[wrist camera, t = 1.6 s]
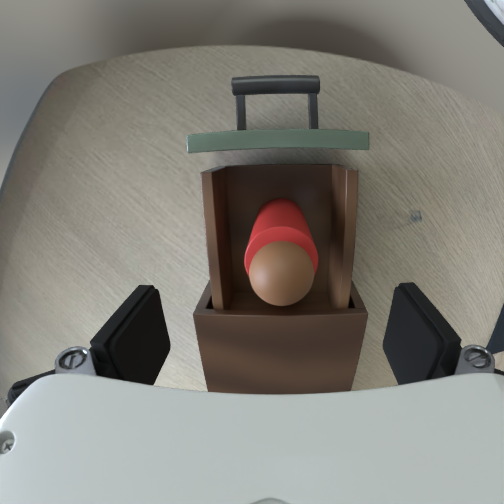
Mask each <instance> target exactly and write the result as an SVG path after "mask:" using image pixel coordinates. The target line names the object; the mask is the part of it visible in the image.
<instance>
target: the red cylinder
mask: <svg viewBox="0 0 504 504" xmlns="http://www.w3.org/2000/svg"><path fill="white" fill-rule="evenodd" d="M317 266H318V254H317V250H316V247H315V244H314V241H313V239H312V236H311V233H310V230H309V228H308V225H307V222H306V220H305V217H304V214H303V212H302V210H301V208H300V207H299V206H298V205H297V204H296V203H294V202H293V201H291V200H289V199H285V198H276V199H272V200H269V201H267V202H266V203H265V204H264V205H262V207H261V208H260V209H259V211H258V213H257V216H256V219H255V223H254V226H253V229H252V233H251V236H250V239H249V243H248V246H247V249H246V253H245V268H246V271H247V274H248V276H249V277H250V282H251V285H252V288H253V289H254V291H255V293H256V294H257V295H258V296H259V297H260V298H261V299H263V300H264V301H266V302H267V303H270V304H273V305H277V306H286V305H290V304H293V303H296V302H298V301H299V300H301V299H302V298H303V297H304V296H305V295H306V294H307V293H308V291H309V290H310V288H311V286H312V283H313V279H314V275H315V273H316V270H317Z"/></svg>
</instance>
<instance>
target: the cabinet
mask: <svg viewBox="0 0 504 504" xmlns="http://www.w3.org/2000/svg"><path fill="white" fill-rule="evenodd" d="M193 318H194V324H195V329H196V335H197V340H198V346H199V351H200V356H201V361H202V366H203V371H204V375H205V380H206V385H207V389H208V392H217V393H233V394H265V395H285V394H317V393H333V392H346V391H351V388H352V384H353V380H354V376H355V373H356V369H357V364H358V360H359V356H360V352H361V347H362V343H363V338H364V333H365V328H366V323H367V318H368V312H367V309H366V307H365V305H364V303H363V301H362V299H361V297H360V295H359V293H358V291H357V289H356V287H355V285H354V283H353V281H352V280H351V289H350V297H349V305H348V309H322V310H219V309H213V300H212V292H211V284H210V280H209V282H208V284H207V286H206V288H205V290H204V292H203V294H202V296H201V298H200V300H199V302H198V304H197V306H196V309H195V311H194V313H193Z"/></svg>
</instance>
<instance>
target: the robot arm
mask: <svg viewBox="0 0 504 504" xmlns="http://www.w3.org/2000/svg"><path fill="white" fill-rule="evenodd" d="M484 1H485V3H486V4H487V5H488V7H489V8H490V10H491V11H492V12H493V13H494V15H495V16H496V17H497V18H498V19H499V20H500V22H501V23H502V24H503V25H504V0H484ZM460 343H461V338H460V337H459V336H458V335H457V333H456V332H455V331H454V329H453V328H452V327H451V326H450V324H449V323H448V322H447V321H446V319H445V318H444V317H443V316H442V315H441V313H440V312H439V311H438V310H437V309H436V307H435V306H434V305H433V304H432V303H431V301H430V300H429V299H428V298H427V297H426V296H425V295H424V293H423V292H422V291H421V290H420V289H419V288H418V287H417V285H416V284H415V283H414V282H410V283H400V284H399V286H398V287H395V290H394V294H393V300H392V305H391V309H390V314H389V319H388V323H387V327H386V332H385V336H384V340H383V350H384V352H385V355H386V357H387V359H388V361H389V364H390V366H391V368H392V371H393V373H394V375H395V378H396V380H397V383H398V385H396V386H389V387H382V388H374V389H366V390H356V391H346V392H333V393H317V394H285V395H265V394H233V393H217V392H205V391H194V390H184V389H176V388H168V387H160V386H153V385H154V383H155V381H156V379H157V376H158V374H159V372H160V370H161V368H162V366H163V364H164V362H165V360H166V358H167V356H168V354H169V351H170V346H171V345H170V339H169V335H168V331H167V327H166V322H165V318H164V313H163V309H162V304H161V299H160V294H159V291H158V289H155V288H154V286H153V285H139V286H138V287H137V288H136V289H135V290H134V291H133V292H132V294H131V295H130V296H129V297H128V298H127V299H126V300H125V301H124V303H123V304H122V305H121V306H120V307H119V308H118V309H117V310H116V312H115V313H114V314H113V315H112V316H111V317H110V318H109V320H108V321H107V322H106V323H105V324H104V325H103V327H102V328H101V329H100V330H99V331H98V333H97V334H96V335H95V336H94V337H93V338H92V340H91V341H90V344H91V346H92V347H91V348H90V349H89V350H88V349H87V348H85V347H79V346H76V347H71V348H68V349H66V350H64V351H63V352H61V353H60V354H59V355H58V356H57V358H56V360H55V369H54V370H51V371H48V372H45V373H42V374H39V375H36V376H33V377H30V378H27V379H24V380H21V381H18V382H16V383H14V384H13V386H12V387H11V388H10V390H9V392H8V396H7V398H8V399H7V400H5V398H4V397H3V398H1V399H0V504H504V372H503V371H501V370H498V369H495V368H494V367H495V359H494V357H493V355H492V353H491V352H490V351H489V350H487V349H486V348H484V347H482V346H479V345H468V346H465V347H464V348H462V347H461V346H460Z"/></svg>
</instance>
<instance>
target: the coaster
mask: <svg viewBox="0 0 504 504" xmlns="http://www.w3.org/2000/svg"><path fill="white" fill-rule="evenodd" d="M486 349H487V350H489V351H490V352H491V353H492V354H495V353H498V352H502V351H504V305H503V308H502V310H501V313H500V316H499V319H498V321H497V324H496V326H495V329H494V331H493V334H492V336H491V339H490V341H489V343H488V346H487V348H486Z"/></svg>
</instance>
